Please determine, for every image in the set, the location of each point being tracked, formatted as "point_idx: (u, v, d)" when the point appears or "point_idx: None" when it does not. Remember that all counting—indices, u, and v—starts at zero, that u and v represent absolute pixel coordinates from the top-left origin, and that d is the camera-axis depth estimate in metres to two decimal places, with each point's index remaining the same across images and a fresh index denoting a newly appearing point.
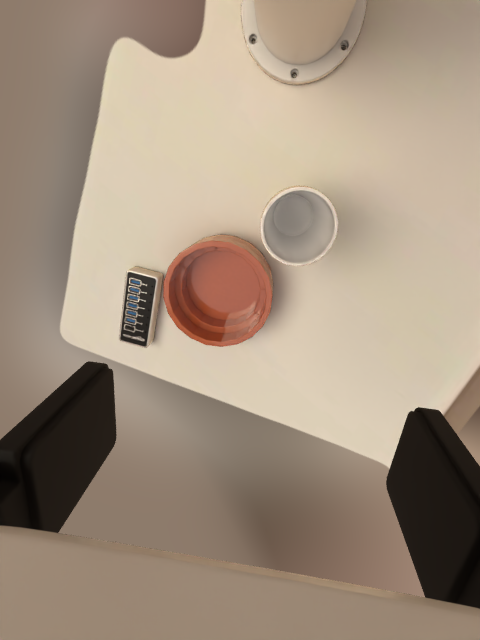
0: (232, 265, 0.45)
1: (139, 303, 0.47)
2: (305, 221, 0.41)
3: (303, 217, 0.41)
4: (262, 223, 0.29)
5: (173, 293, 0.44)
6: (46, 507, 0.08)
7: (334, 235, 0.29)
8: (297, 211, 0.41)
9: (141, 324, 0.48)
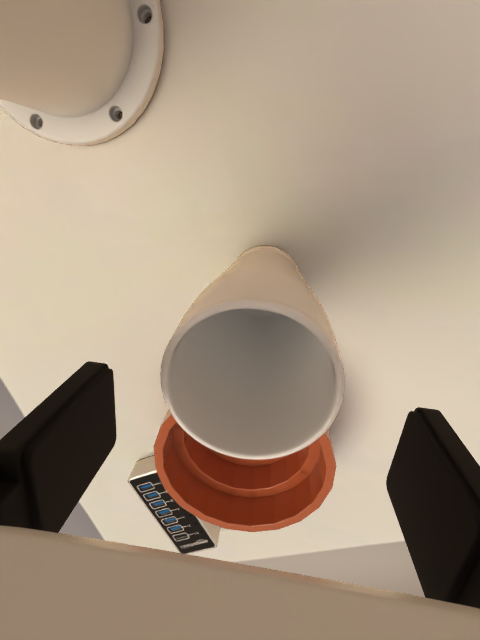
0: None
1: (169, 506, 0.33)
2: None
3: None
4: (180, 422, 0.13)
5: (192, 483, 0.29)
6: (46, 507, 0.08)
7: (332, 355, 0.11)
8: None
9: (190, 526, 0.33)
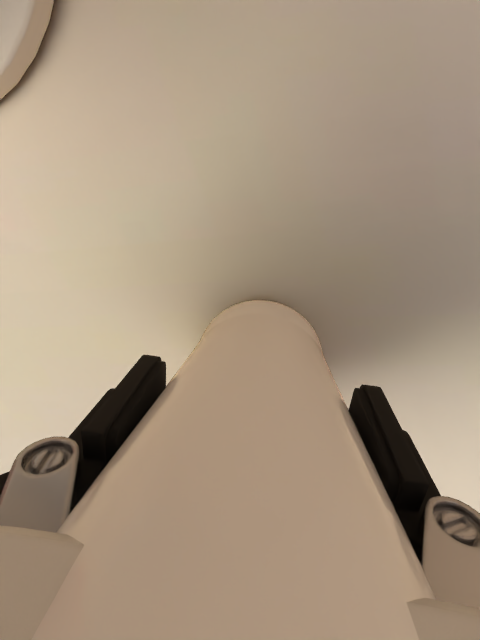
0: None
1: None
2: None
3: None
4: None
5: None
6: None
7: None
8: None
9: None
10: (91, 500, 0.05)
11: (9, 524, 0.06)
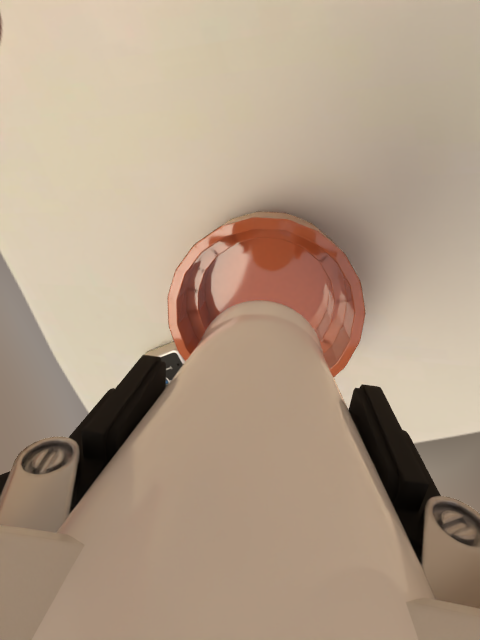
0: (257, 261, 0.27)
1: None
2: None
3: None
4: None
5: None
6: None
7: None
8: None
9: None
10: (91, 501, 0.05)
11: (9, 524, 0.06)
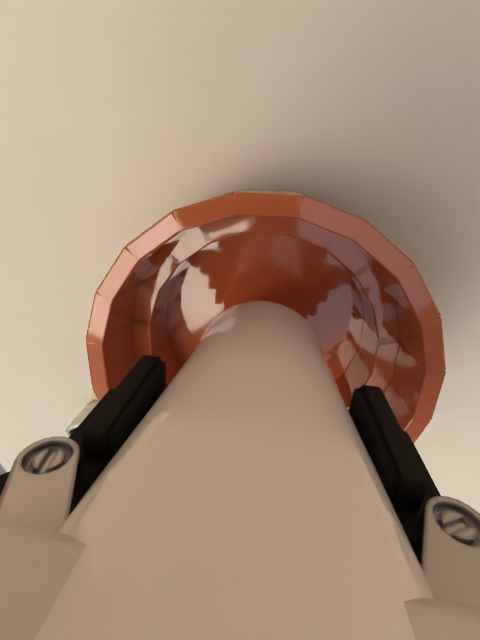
0: (249, 272, 0.17)
1: None
2: None
3: None
4: None
5: None
6: None
7: None
8: None
9: None
10: (91, 502, 0.05)
11: (9, 524, 0.06)
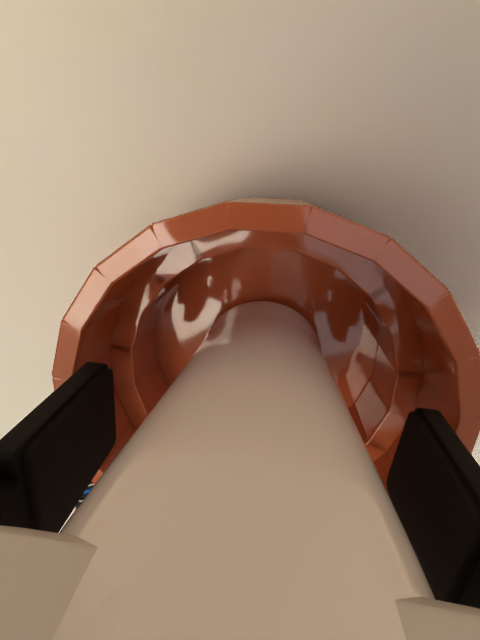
0: (247, 289, 0.15)
1: None
2: None
3: None
4: None
5: None
6: (46, 507, 0.08)
7: None
8: None
9: None
10: (107, 482, 0.05)
11: None
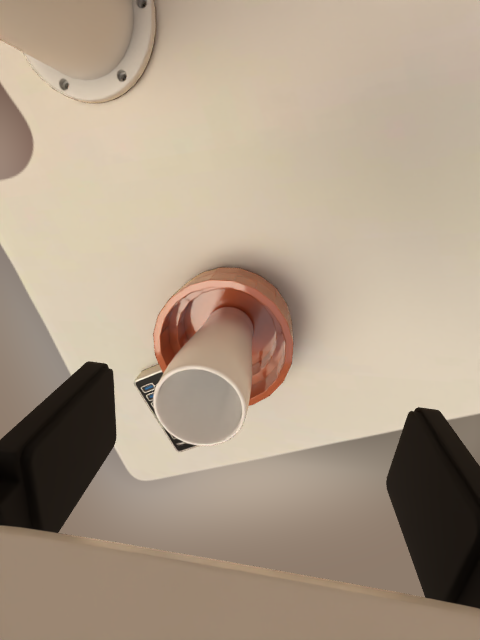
0: (222, 302, 0.37)
1: None
2: None
3: None
4: (164, 426, 0.24)
5: None
6: (46, 507, 0.08)
7: (237, 391, 0.23)
8: None
9: None
10: (184, 345, 0.27)
11: None
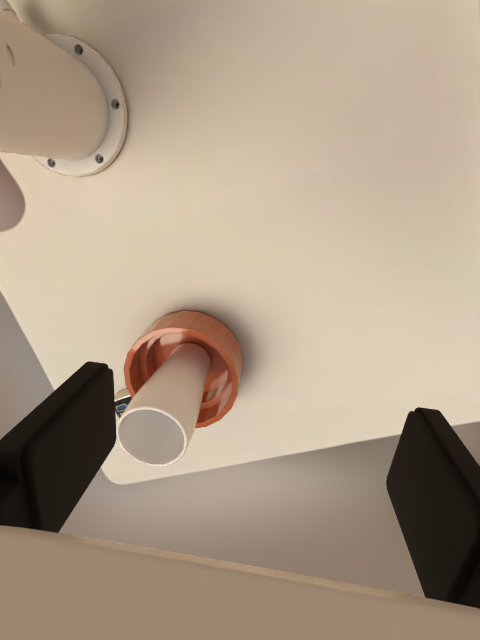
0: (184, 338, 0.43)
1: None
2: None
3: None
4: (125, 450, 0.31)
5: None
6: (46, 507, 0.08)
7: (179, 426, 0.30)
8: None
9: None
10: (144, 384, 0.34)
11: None
